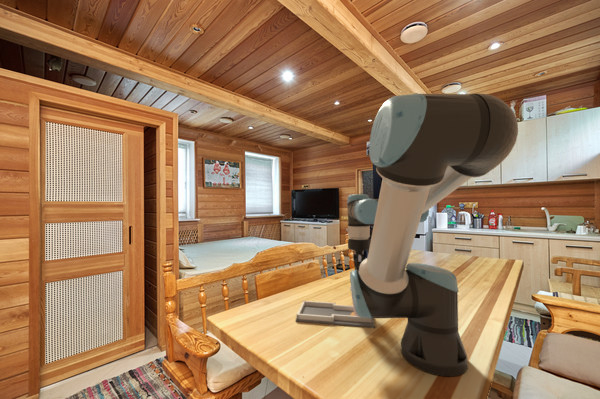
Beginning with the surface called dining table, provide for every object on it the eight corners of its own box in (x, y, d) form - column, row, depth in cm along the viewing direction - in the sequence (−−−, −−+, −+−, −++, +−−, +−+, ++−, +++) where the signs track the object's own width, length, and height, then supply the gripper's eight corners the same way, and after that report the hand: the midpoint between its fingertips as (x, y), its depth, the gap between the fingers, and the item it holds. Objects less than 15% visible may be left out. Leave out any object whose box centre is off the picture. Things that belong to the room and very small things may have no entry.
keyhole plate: (375, 327, 80) (374, 321, 80) (295, 321, 85) (295, 315, 85) (371, 310, 93) (371, 304, 93) (302, 305, 98) (302, 300, 98)
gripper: (348, 234, 101) (348, 287, 100) (347, 242, 77) (348, 312, 76) (367, 234, 100) (367, 288, 99) (373, 243, 75) (374, 314, 75)
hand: (359, 299), depth 88 cm, fingers open, 13 cm apart
